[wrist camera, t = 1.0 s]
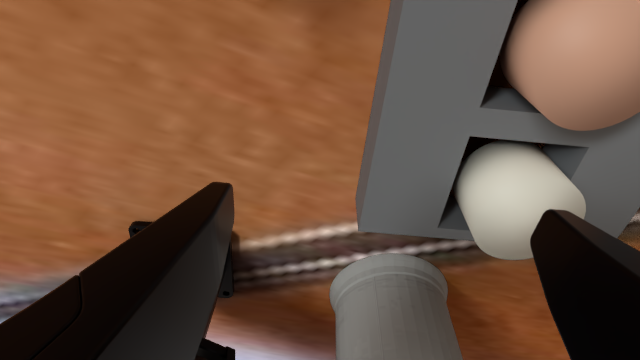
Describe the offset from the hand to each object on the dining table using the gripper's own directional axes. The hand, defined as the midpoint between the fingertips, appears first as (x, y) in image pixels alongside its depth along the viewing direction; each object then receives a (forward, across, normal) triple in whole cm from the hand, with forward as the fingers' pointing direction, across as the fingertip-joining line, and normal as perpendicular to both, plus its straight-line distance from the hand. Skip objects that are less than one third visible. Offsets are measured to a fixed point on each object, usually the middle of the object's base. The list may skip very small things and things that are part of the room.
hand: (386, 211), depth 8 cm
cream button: (+10, -8, +5) cm, 14 cm away
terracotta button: (+10, -8, -2) cm, 13 cm away
